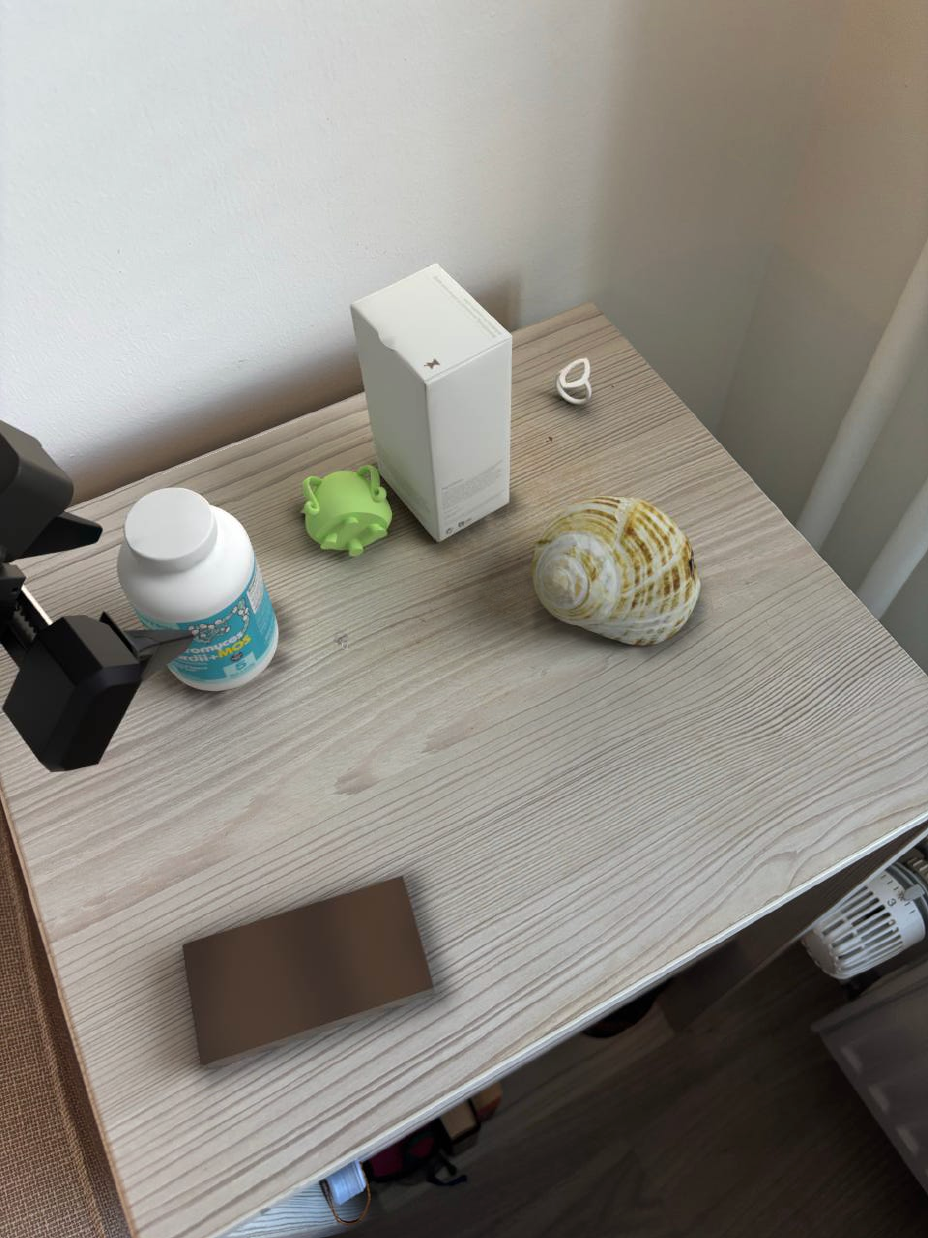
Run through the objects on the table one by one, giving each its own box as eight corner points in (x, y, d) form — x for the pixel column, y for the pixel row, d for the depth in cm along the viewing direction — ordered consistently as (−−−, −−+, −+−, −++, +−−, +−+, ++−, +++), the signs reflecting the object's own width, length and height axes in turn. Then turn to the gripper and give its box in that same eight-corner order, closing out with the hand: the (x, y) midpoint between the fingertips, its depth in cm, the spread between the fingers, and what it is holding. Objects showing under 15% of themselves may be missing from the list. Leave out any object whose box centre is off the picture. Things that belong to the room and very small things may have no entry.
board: (212, 1070, 47) (200, 1066, 45) (193, 953, 50) (181, 944, 48) (436, 994, 49) (434, 987, 47) (405, 886, 52) (403, 874, 50)
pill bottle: (158, 697, 58) (81, 583, 46) (174, 596, 62) (106, 467, 50) (277, 694, 58) (231, 579, 46) (286, 594, 62) (244, 464, 50)
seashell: (732, 589, 61) (720, 553, 52) (623, 687, 62) (592, 669, 53) (630, 487, 65) (602, 436, 55) (529, 581, 66) (484, 547, 57)
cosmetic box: (510, 505, 65) (522, 338, 52) (432, 549, 63) (424, 387, 50) (445, 431, 69) (440, 255, 55) (369, 470, 67) (345, 299, 53)
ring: (548, 389, 71) (553, 361, 68) (581, 384, 71) (587, 356, 68) (557, 415, 70) (562, 387, 67) (590, 409, 70) (597, 382, 67)
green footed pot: (386, 495, 66) (380, 441, 61) (403, 555, 63) (397, 504, 58) (301, 513, 65) (287, 460, 60) (314, 575, 62) (301, 525, 57)
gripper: (1, 588, 30) (315, 577, 44) (-220, 297, 37) (109, 364, 51) (-97, 817, 35) (216, 744, 48) (-279, 517, 42) (39, 526, 55)
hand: (143, 585), depth 50 cm, fingers open, 9 cm apart
